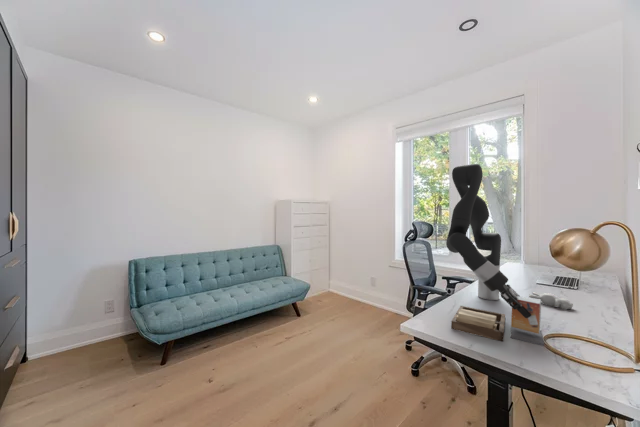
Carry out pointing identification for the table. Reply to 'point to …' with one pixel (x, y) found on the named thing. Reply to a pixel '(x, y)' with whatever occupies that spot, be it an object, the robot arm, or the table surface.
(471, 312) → the offcut stack
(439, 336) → the table surface
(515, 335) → the charcoal mat
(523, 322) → the small box
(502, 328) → the walnut rack
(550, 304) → the bunny figurine
